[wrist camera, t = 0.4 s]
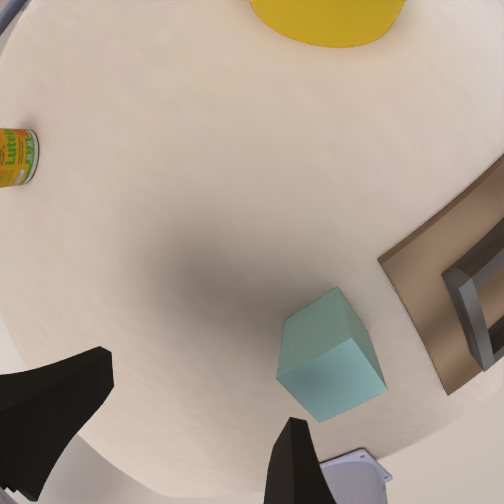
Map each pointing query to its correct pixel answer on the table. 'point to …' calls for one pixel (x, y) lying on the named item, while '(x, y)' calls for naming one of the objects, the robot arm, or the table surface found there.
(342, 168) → the table surface
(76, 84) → the table surface
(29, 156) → the supplement bottle
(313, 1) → the tape roll
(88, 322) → the table surface
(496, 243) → the socket board
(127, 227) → the table surface
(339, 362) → the peg
